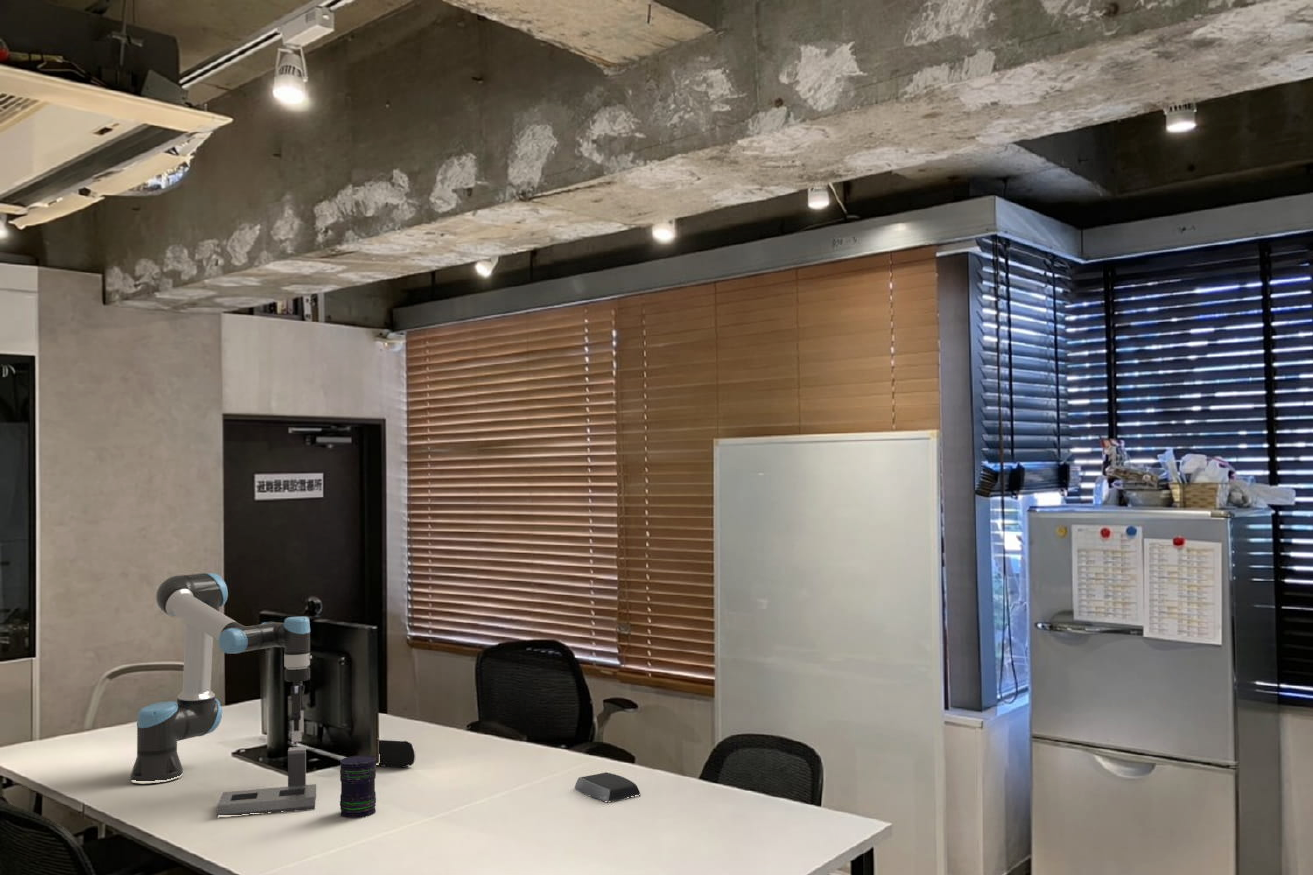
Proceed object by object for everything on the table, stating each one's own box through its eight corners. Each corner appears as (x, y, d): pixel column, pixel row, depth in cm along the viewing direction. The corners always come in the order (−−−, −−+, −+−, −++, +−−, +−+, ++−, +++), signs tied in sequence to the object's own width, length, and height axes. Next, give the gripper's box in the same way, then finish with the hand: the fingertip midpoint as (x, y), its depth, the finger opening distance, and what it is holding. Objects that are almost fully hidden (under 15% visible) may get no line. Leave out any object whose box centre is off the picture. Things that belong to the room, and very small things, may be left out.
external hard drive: (605, 805, 301) (605, 790, 301) (572, 790, 317) (572, 776, 317) (643, 797, 308) (642, 783, 308) (609, 782, 324) (608, 769, 324)
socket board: (223, 804, 306) (223, 792, 306) (316, 795, 313) (316, 783, 313) (216, 818, 292) (217, 805, 293) (314, 809, 300) (314, 796, 300)
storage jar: (338, 810, 298) (338, 757, 299) (374, 806, 302) (374, 753, 302) (341, 820, 289) (341, 765, 290) (377, 815, 292) (377, 761, 293)
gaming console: (413, 769, 342) (417, 766, 345) (411, 742, 342) (415, 739, 345) (361, 766, 348) (365, 763, 350) (360, 739, 348) (364, 737, 350)
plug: (288, 786, 323) (288, 747, 324) (305, 785, 325) (305, 746, 325) (287, 790, 319) (288, 750, 320) (305, 789, 320) (305, 749, 321)
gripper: (308, 672, 313) (308, 744, 312) (311, 660, 337) (312, 727, 336) (281, 674, 311) (282, 746, 310) (287, 662, 335) (287, 729, 333)
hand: (297, 736), depth 323 cm, fingers open, 13 cm apart
